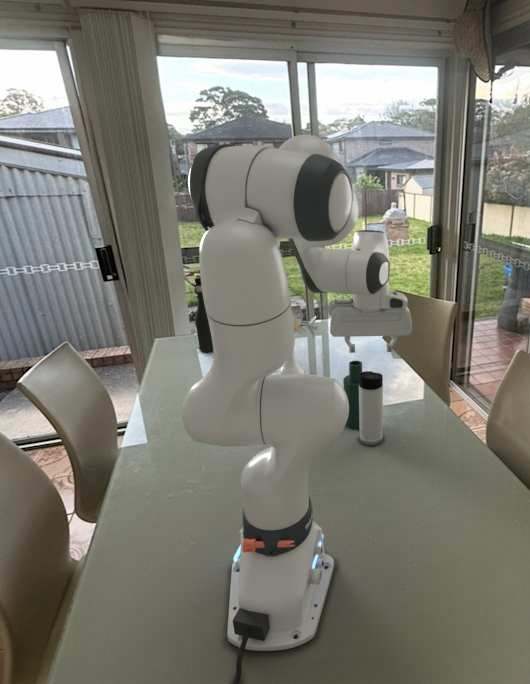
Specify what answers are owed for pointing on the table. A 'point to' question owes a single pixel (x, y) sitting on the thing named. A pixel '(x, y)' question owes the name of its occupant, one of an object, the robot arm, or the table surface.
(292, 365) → the flower vase
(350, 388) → the green bottle
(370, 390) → the travel mug
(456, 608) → the table surface
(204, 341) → the wine bottle
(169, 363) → the table surface
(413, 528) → the table surface
